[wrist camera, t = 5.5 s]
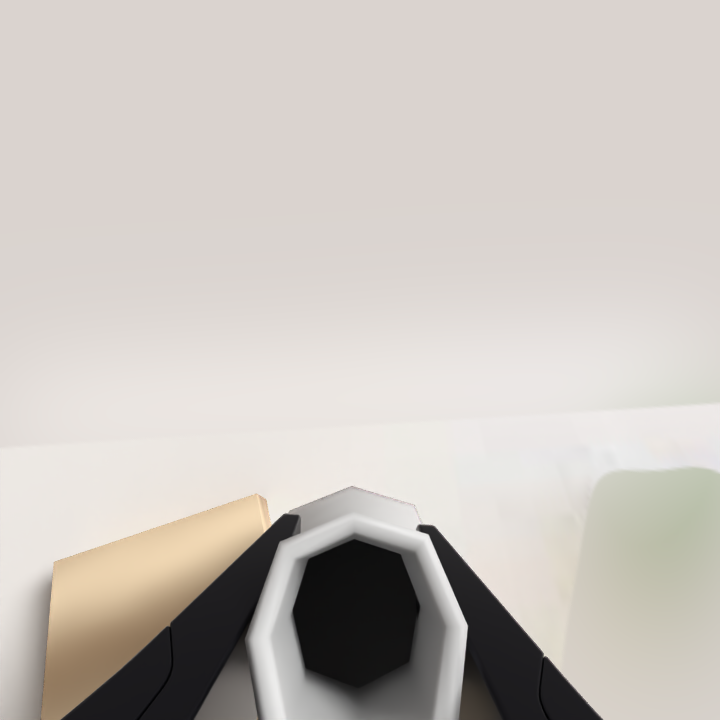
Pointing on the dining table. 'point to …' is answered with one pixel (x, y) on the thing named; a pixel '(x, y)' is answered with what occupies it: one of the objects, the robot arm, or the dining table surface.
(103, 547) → the oak block
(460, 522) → the dining table surface
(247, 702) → the robot arm
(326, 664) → the flask
